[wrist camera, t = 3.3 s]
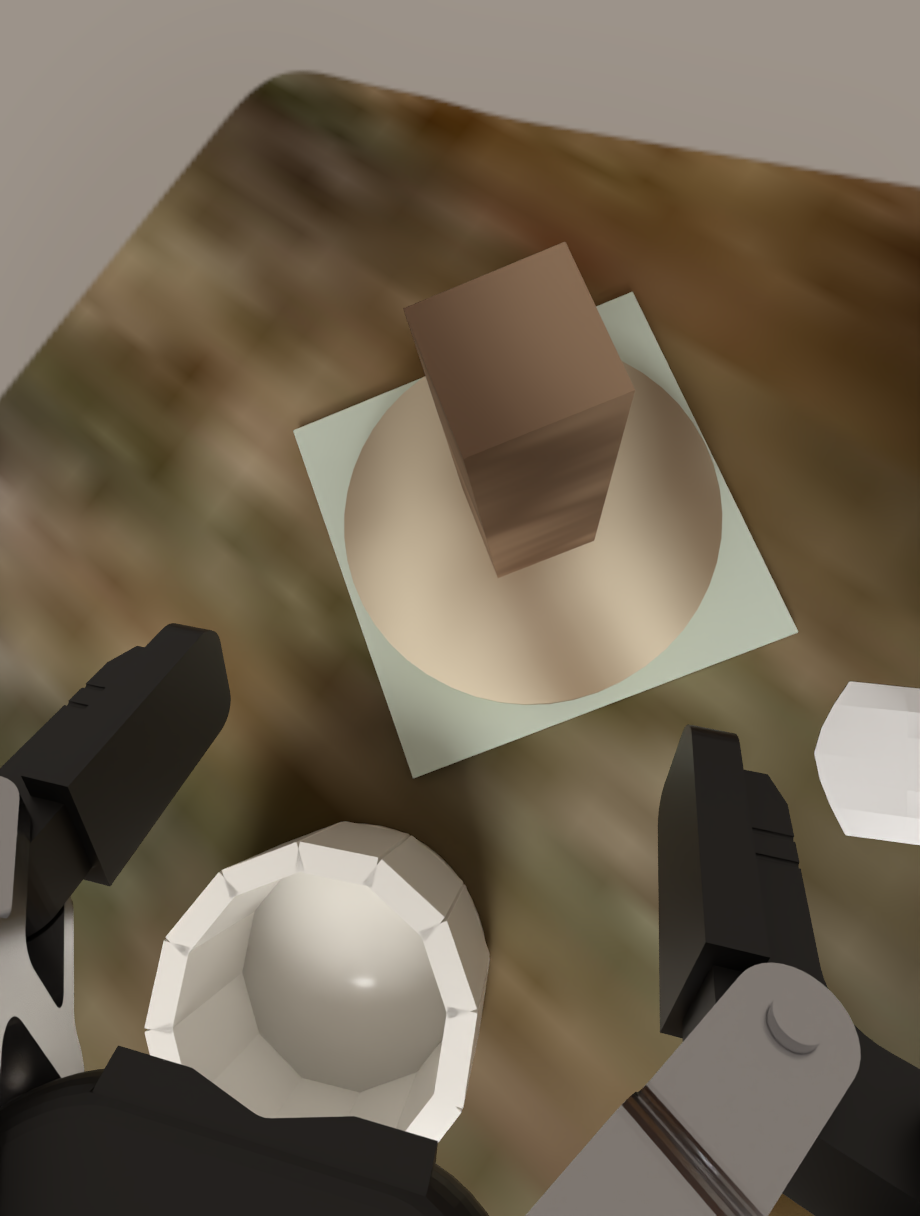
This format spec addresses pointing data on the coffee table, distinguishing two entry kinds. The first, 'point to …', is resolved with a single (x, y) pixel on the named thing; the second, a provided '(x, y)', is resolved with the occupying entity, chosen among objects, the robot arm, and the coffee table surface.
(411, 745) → the mat
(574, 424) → the lid
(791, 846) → the robot arm
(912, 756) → the heart sculpture
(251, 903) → the bowl
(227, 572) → the coffee table surface
